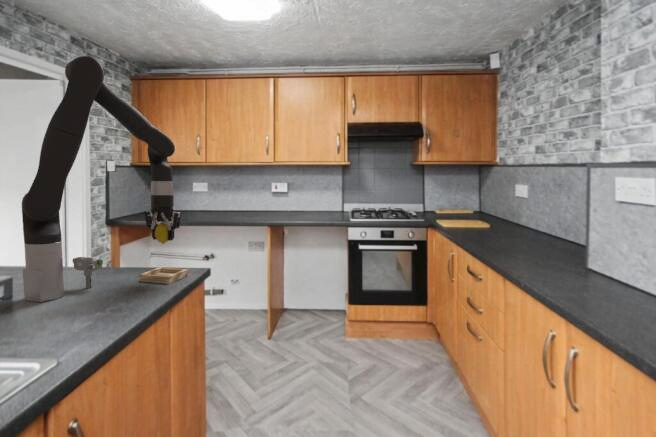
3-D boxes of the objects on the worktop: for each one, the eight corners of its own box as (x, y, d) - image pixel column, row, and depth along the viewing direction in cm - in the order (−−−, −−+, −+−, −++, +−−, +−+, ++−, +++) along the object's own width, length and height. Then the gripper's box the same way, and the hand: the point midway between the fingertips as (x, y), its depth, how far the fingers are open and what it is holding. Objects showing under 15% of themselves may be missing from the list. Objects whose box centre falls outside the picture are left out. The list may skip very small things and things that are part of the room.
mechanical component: (98, 290, 131) (97, 260, 129) (72, 287, 133) (70, 258, 132) (105, 287, 133) (104, 258, 132) (79, 285, 135) (77, 256, 134)
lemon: (155, 245, 142) (155, 223, 141) (154, 243, 147) (154, 221, 146) (172, 244, 144) (171, 223, 144) (170, 242, 149) (170, 221, 148)
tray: (168, 283, 140) (168, 277, 140) (139, 281, 142) (138, 274, 142) (188, 275, 152) (187, 269, 151) (160, 273, 154) (160, 267, 154)
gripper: (137, 193, 141) (139, 240, 143) (173, 194, 138) (174, 242, 140) (151, 192, 149) (152, 237, 151) (185, 193, 146) (186, 239, 147)
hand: (163, 239), depth 145 cm, fingers closed on lemon, 5 cm apart
